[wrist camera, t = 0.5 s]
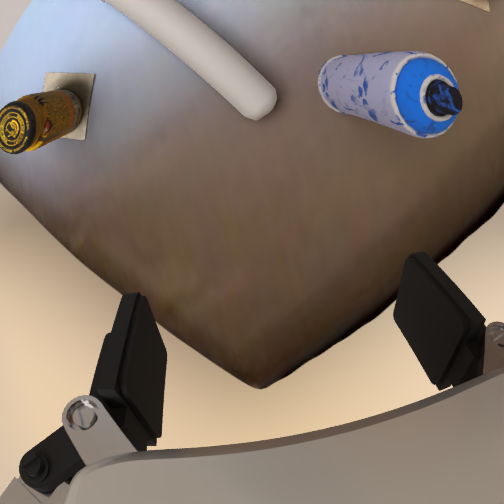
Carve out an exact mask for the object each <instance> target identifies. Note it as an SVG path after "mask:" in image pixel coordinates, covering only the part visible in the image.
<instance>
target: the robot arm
mask: <svg viewBox="0 0 504 504" xmlns="http://www.w3.org/2000/svg"><path fill="white" fill-rule="evenodd" d="M393 316H394V320H395V322H396V324H397V325H398V327H399V328H400V330H401V332H402V333H403V335H404V337H405V338H406V340H407V341H408V343H409V345H410V346H411V348H412V350H413V352H414V353H415V355H416V357H417V358H418V360H419V362H420V364H421V365H422V367H423V369H424V370H425V372H426V374H427V376H428V377H429V379H430V381H431V383H432V384H434V385H435V384H436V386H437V387H438V390H439V391H440V390H443V389H445V388H447V387H450V386H451V384H452V386H453V388H451V389H448V390H446V391H443V392H441V393H438V394H436V395H433V396H431V397H428V398H425V399H423V400H420V401H418V402H415V403H412V404H409V405H406V406H403V407H400V408H398V409H394V410H391V411H388V412H385V413H382V414H378V415H375V416H372V417H368V418H365V419H361V420H358V421H354V422H350V423H347V424H343V425H339V426H335V427H330V428H326V429H322V430H317V431H312V432H308V433H303V434H298V435H293V436H287V437H282V438H275V439H269V440H262V441H255V442H248V443H240V444H231V445H220V446H211V447H198V448H184V449H183V448H182V449H165V450H148V451H147V446H156V443H157V438H160V437H161V435H162V418H163V403H164V388H165V376H166V364H167V351H166V348H165V346H164V343H163V340H162V338H161V335H160V333H159V330H158V327H157V325H156V322H155V319H154V317H153V314H152V311H151V308H150V306H149V303H148V300H147V298H146V296H141V294H140V293H139V292H137V293H128V294H123V296H122V299H121V302H120V305H119V308H118V311H117V314H116V318H115V321H114V324H113V328H112V331H111V333H108V334H107V335H106V336H105V338H104V342H103V345H102V349H101V352H100V356H99V359H98V363H97V367H96V370H95V374H94V378H93V382H92V386H91V390H90V394H89V396H88V395H83V396H79V397H77V398H74V399H73V400H71V401H70V402H69V403H68V404H67V406H66V407H65V408H64V411H63V414H62V422H63V426H62V427H60V428H59V429H58V430H56V431H55V432H54V433H52V434H51V435H50V436H48V437H47V438H46V439H44V440H43V441H41V442H40V443H39V444H37V445H36V446H35V447H33V448H32V449H31V450H29V451H28V452H27V453H26V454H25V455H24V456H23V457H22V459H21V461H20V465H19V473H20V477H19V478H18V479H17V478H15V477H14V479H13V480H12V482H11V483H10V484H9V485H8V487H7V488H6V490H5V491H4V492H3V494H2V495H1V497H0V504H504V323H502V322H492V323H490V324H489V325H488V326H487V327H486V326H485V325H484V323H485V320H486V319H485V318H484V317H483V316H482V314H481V313H480V312H479V311H478V310H477V308H476V307H475V306H474V305H473V304H472V302H471V301H470V300H469V299H468V298H467V297H466V295H465V294H464V293H463V292H462V291H461V290H460V289H459V288H458V286H457V285H456V284H455V283H454V282H453V281H452V280H451V279H450V278H449V277H448V276H447V275H446V274H445V272H444V271H443V270H442V269H441V268H440V267H439V266H438V265H437V264H436V263H435V262H434V261H433V260H432V259H431V258H430V257H429V256H428V255H427V254H426V253H425V252H418V253H412V254H410V255H409V257H408V258H407V259H406V260H405V264H404V269H403V274H402V278H401V283H400V287H399V292H398V296H397V300H396V304H395V308H394V312H393Z"/></svg>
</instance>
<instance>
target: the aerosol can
mask: <svg viewBox="0 0 504 504" xmlns="http://www.w3.org/2000/svg"><path fill="white" fill-rule="evenodd" d="M317 82H318V89H319V93H320V95H321V97H322V99H323V101H324V102H325V103H326V104H327V105H328V106H329V107H330V108H332V109H333V110H335V111H337V112H340V113H344V114H351V115H354V116H357V117H360V118H363V119H366V120H369V121H372V122H375V123H378V124H381V125H384V126H387V127H390V128H392V129H395V130H398V131H400V132H403V133H406V134H408V135H411V136H414V137H417V138H435V137H437V136H439V135H441V134H444V133H445V132H446V131H447V130H448V129H449V128H450V127H451V126H452V124H453V123H454V121H455V119H456V117H457V114H458V113H459V112H460V111H461V109H462V97H461V94H460V92H459V88H458V85H457V81H456V78H455V77H454V75H453V73H452V71H451V70H450V68H449V67H448V66H447V65H446V64H445V63H444V62H443V61H442V60H441V59H439V58H437V57H435V56H433V55H431V54H429V53H426V52H420V51H398V52H382V53H369V54H359V55H339V56H336V57H333V58H331V59H329V60H328V61H327V62H326V63H325V64H324V65H323V66H322V68H321V70H320V72H319V76H318V81H317Z"/></svg>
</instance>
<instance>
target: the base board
mask: <svg viewBox="0 0 504 504" xmlns="http://www.w3.org/2000/svg"><path fill="white" fill-rule="evenodd" d="M459 1H462V2H465V3H467V4H470V5H472V6H475V7H477V8H480V9H482V10H485V11H487V12H490V8H489V2H488V0H459Z"/></svg>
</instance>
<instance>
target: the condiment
mask: <svg viewBox="0 0 504 504" xmlns="http://www.w3.org/2000/svg"><path fill="white" fill-rule="evenodd" d="M94 75H95V74H83V73H46V76H45V81H44V87H43V92H42V93H35V94H30V95H26V96H23V97H21V98H19V99H18V100H17V101H13V102H11V103H8V104H7V105H6V106H5V107H3V108H2V109H1V110H0V148H1V149H2V150H3V151H5V152H7V153H10V154H19V153H21V152H23V151H32V150H35V149H37V148H40V147H41V146H44V145H46V144H47V143H49V142H52V141H54V140H56V139H58V138H60V137H61V138H71V139H79V140H85V134H86V127H87V119H88V112H89V103H90V98H91V92H92V86H93V80H94ZM57 87H59V88H58V89H57Z"/></svg>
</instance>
